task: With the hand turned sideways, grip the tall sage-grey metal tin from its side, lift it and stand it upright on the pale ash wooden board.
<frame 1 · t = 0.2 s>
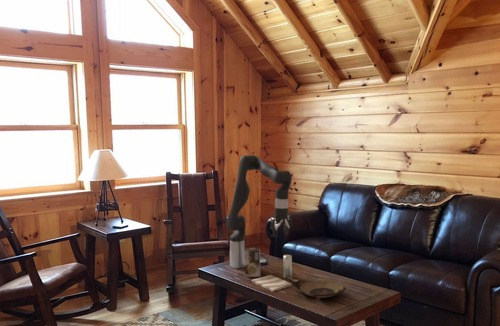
hand: (281, 235, 241), 29 cm above the table, tool pointing down, fingers open, 8 cm apart
coffee box: (252, 275, 262), on the table
metal tin: (287, 277, 257), on the table
ash board: (271, 283, 247), on the table
oil lamp: (317, 294, 230), on the table
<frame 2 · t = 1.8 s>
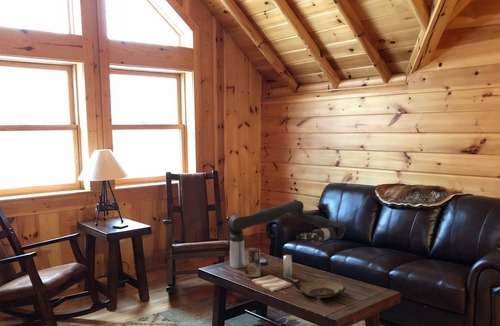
hand: (301, 238, 262), 22 cm above the table, tool horizontal, fingers open, 8 cm apart
nothing on the table moved.
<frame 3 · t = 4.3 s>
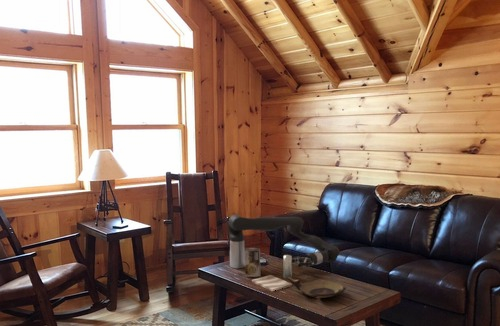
hand: (293, 263, 260), 7 cm above the table, tool horizontal, fingers open, 8 cm apart
nothing on the table moved.
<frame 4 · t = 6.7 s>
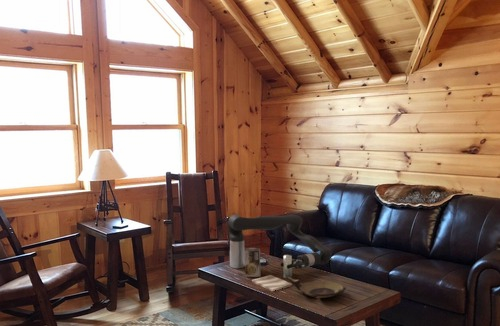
hand: (284, 265, 255), 8 cm above the table, tool horizontal, fingers closed on metal tin, 5 cm apart
metal tin: (287, 277, 257), on the table, touching gripper
everything else where it was.
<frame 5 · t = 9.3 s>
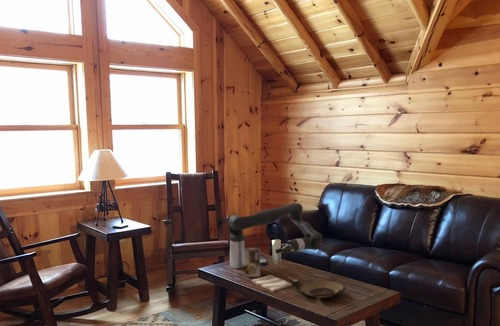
hand: (273, 250, 247), 19 cm above the table, tool horizontal, fingers closed on metal tin, 5 cm apart
metal tin: (276, 262, 249), point 11 cm above the table, touching gripper
everything else where it was.
when the fingers open (10 cm above the table, at t = 12.3 s): metal tin drops 1 cm, resting on ash board.
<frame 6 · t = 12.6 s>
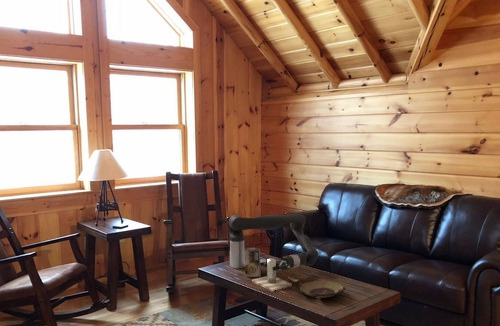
hand: (268, 267, 245), 10 cm above the table, tool horizontal, fingers open, 8 cm apart
metal tin: (271, 281, 247), point 1 cm above the table, touching ash board
everything else where it was.
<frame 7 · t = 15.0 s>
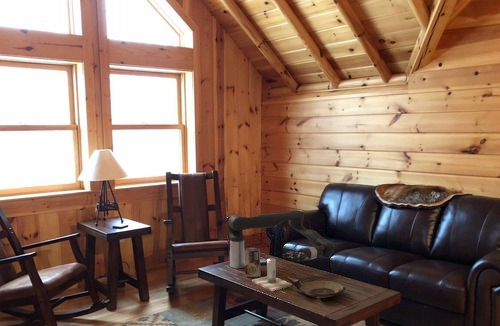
hand: (287, 258, 253), 13 cm above the table, tool horizontal, fingers open, 8 cm apart
nothing on the table moved.
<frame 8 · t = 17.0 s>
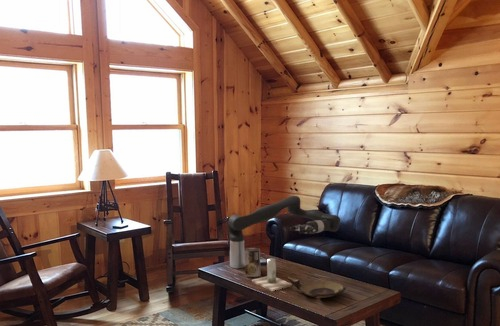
hand: (294, 230, 256), 28 cm above the table, tool horizontal, fingers open, 8 cm apart
nothing on the table moved.
at the end: metal tin inside the target area on the ash board (0.1 cm from its centre), point 1.2 cm above the ash board's base; metal tin tilted 0°; the gripper is holding nothing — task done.
